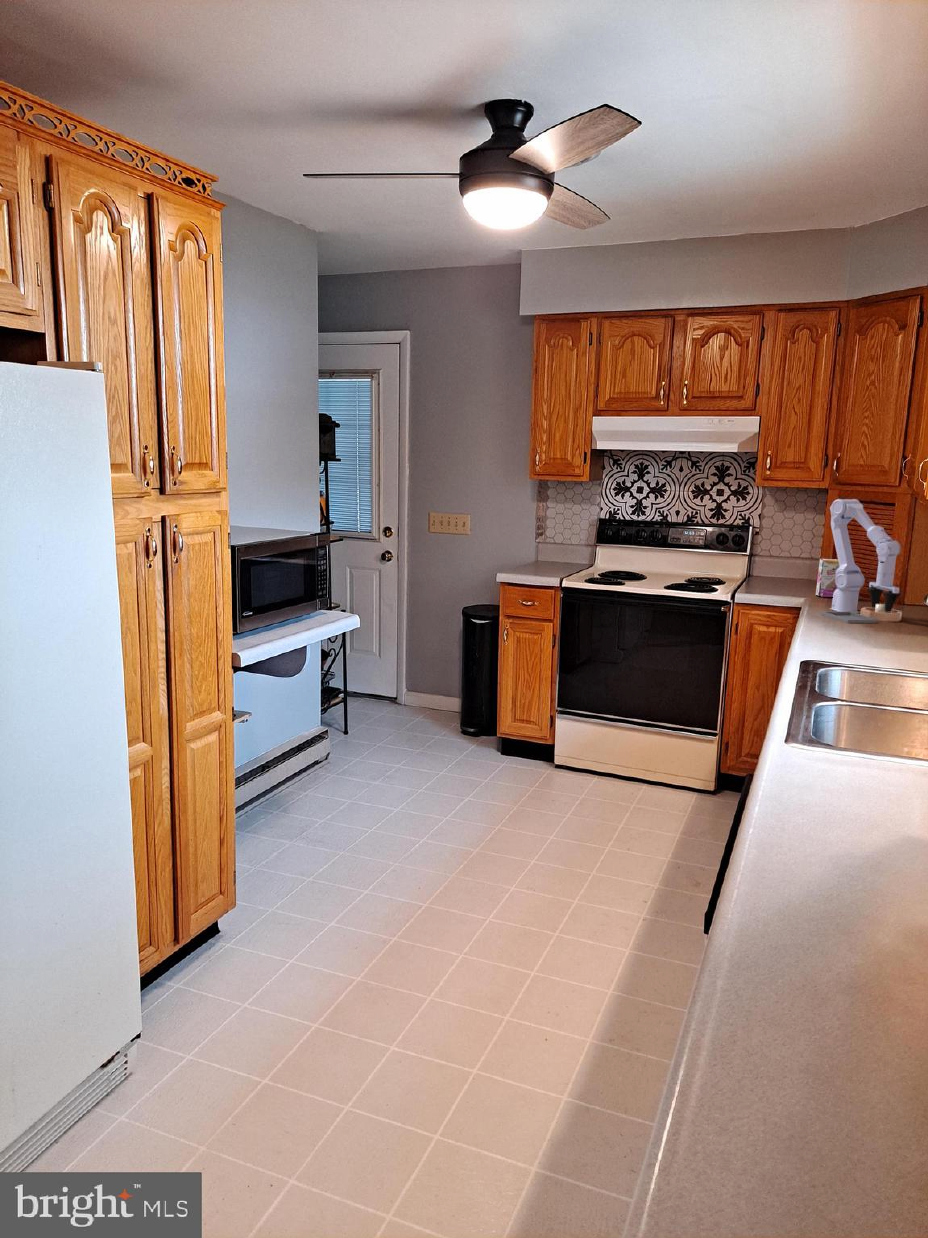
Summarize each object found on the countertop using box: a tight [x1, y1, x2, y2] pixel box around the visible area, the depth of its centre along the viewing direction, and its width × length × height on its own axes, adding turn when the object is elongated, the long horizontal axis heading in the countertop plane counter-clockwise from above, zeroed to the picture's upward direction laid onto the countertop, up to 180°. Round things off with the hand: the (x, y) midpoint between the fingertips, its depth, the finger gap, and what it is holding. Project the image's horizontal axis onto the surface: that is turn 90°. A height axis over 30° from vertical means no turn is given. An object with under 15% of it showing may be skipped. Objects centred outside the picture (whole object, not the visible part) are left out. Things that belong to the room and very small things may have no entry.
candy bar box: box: [815, 558, 840, 598], centre depth 382 cm, size 11×5×16 cm, turn 84°
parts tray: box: [821, 611, 878, 624], centre depth 329 cm, size 16×12×2 cm
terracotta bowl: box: [859, 606, 903, 622], centre depth 332 cm, size 13×13×4 cm
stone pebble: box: [875, 603, 887, 613], centre depth 332 cm, size 4×4×5 cm
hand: (881, 609), depth 332 cm, fingers open, 7 cm apart
